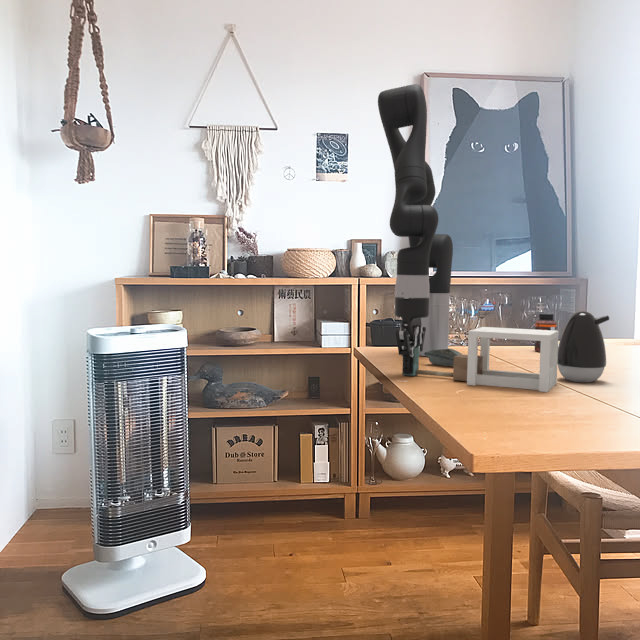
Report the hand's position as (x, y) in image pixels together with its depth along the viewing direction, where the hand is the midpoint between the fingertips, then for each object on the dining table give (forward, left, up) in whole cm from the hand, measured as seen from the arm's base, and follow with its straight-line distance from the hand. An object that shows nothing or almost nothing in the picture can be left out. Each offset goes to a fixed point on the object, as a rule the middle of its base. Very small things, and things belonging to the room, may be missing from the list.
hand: (410, 372), depth 156 cm
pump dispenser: (-13, +34, -1) cm, 37 cm away
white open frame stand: (0, +22, -1) cm, 23 cm away
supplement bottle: (-65, +18, -1) cm, 68 cm away
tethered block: (0, +7, 0) cm, 7 cm away
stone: (-21, +3, -1) cm, 22 cm away
